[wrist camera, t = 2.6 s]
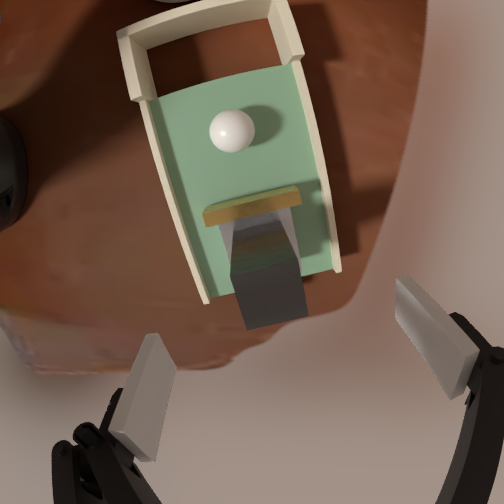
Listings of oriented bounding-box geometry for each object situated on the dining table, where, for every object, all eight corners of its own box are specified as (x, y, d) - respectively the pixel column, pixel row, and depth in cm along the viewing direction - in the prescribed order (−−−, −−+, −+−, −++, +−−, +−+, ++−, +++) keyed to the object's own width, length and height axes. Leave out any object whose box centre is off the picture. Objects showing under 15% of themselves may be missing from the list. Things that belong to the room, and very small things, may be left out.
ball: (217, 156, 24) (213, 159, 20) (207, 117, 22) (201, 114, 19) (258, 146, 24) (261, 147, 20) (248, 107, 22) (249, 101, 19)
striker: (238, 310, 29) (237, 384, 20) (205, 206, 25) (184, 250, 16) (314, 292, 29) (342, 360, 20) (293, 184, 25) (326, 215, 15)
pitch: (206, 289, 31) (201, 315, 26) (135, 46, 21) (116, 31, 16) (333, 259, 30) (348, 281, 26) (274, 8, 20) (281, -14, 15)
